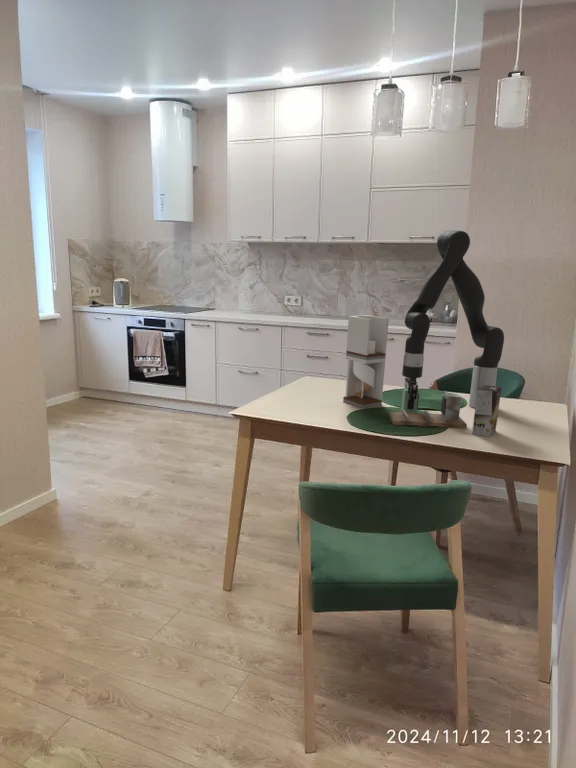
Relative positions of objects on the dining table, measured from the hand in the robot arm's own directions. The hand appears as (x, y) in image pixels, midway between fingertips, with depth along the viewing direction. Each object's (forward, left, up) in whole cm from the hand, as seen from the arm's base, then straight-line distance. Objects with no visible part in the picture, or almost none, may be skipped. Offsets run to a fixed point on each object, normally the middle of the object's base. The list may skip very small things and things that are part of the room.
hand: (409, 406), depth 217 cm
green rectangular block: (0, 0, -2) cm, 2 cm away
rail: (-4, +13, -2) cm, 14 cm away
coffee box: (-22, +23, -2) cm, 32 cm away
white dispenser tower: (+17, -10, -2) cm, 20 cm away
